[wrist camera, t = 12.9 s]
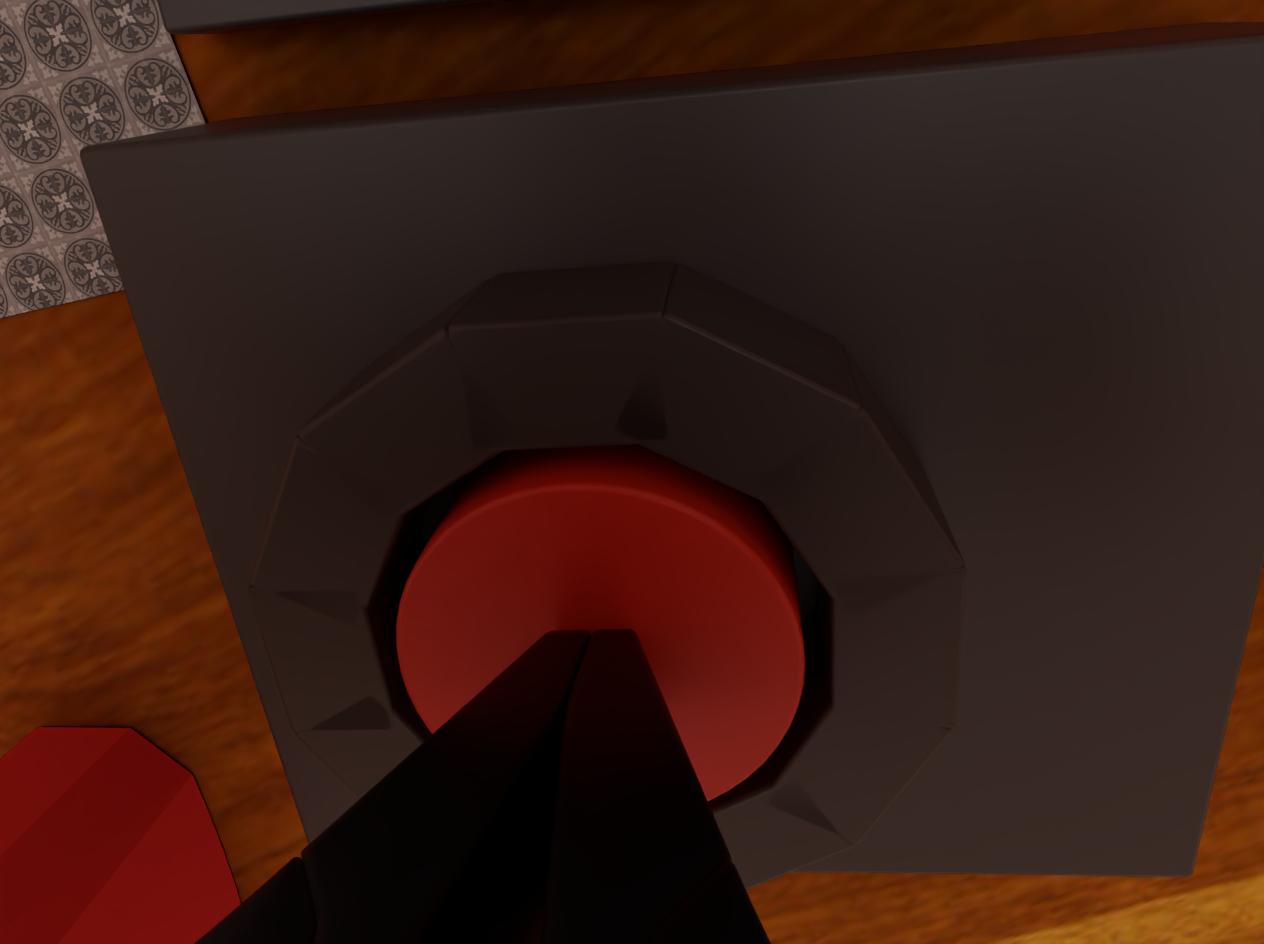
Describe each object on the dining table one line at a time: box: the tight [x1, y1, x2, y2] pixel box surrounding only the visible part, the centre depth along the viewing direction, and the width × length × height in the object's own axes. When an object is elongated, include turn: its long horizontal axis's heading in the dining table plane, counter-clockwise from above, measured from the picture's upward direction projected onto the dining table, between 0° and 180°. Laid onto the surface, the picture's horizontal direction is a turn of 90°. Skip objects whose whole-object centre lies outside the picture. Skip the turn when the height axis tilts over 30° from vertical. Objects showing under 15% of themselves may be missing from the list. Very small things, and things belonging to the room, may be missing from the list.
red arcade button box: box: [80, 22, 1264, 890], centre depth 11 cm, size 12×10×5 cm
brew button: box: [396, 444, 805, 801], centre depth 10 cm, size 4×4×2 cm
